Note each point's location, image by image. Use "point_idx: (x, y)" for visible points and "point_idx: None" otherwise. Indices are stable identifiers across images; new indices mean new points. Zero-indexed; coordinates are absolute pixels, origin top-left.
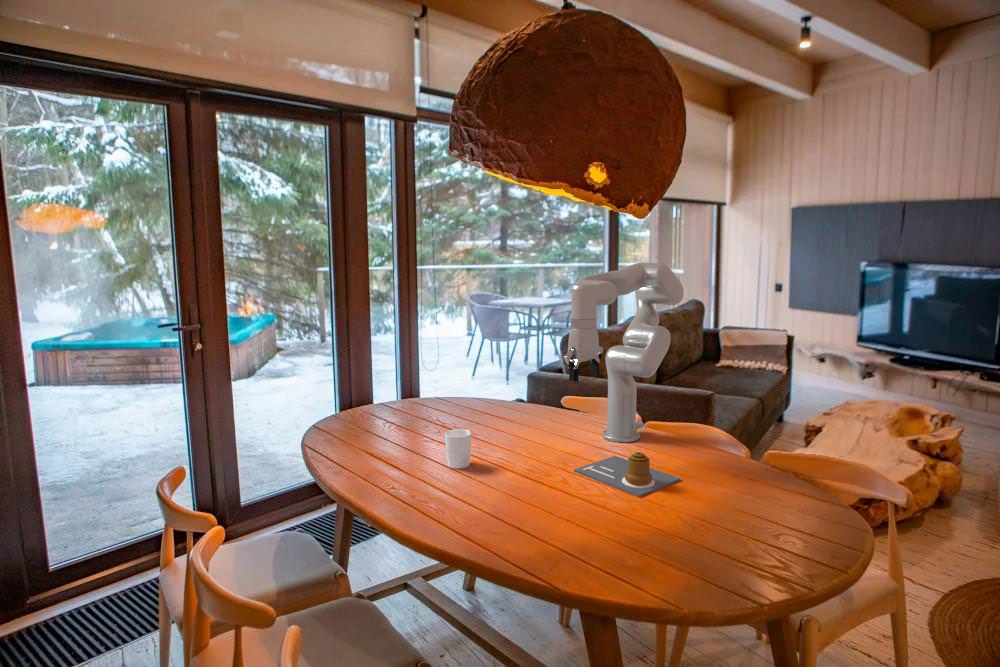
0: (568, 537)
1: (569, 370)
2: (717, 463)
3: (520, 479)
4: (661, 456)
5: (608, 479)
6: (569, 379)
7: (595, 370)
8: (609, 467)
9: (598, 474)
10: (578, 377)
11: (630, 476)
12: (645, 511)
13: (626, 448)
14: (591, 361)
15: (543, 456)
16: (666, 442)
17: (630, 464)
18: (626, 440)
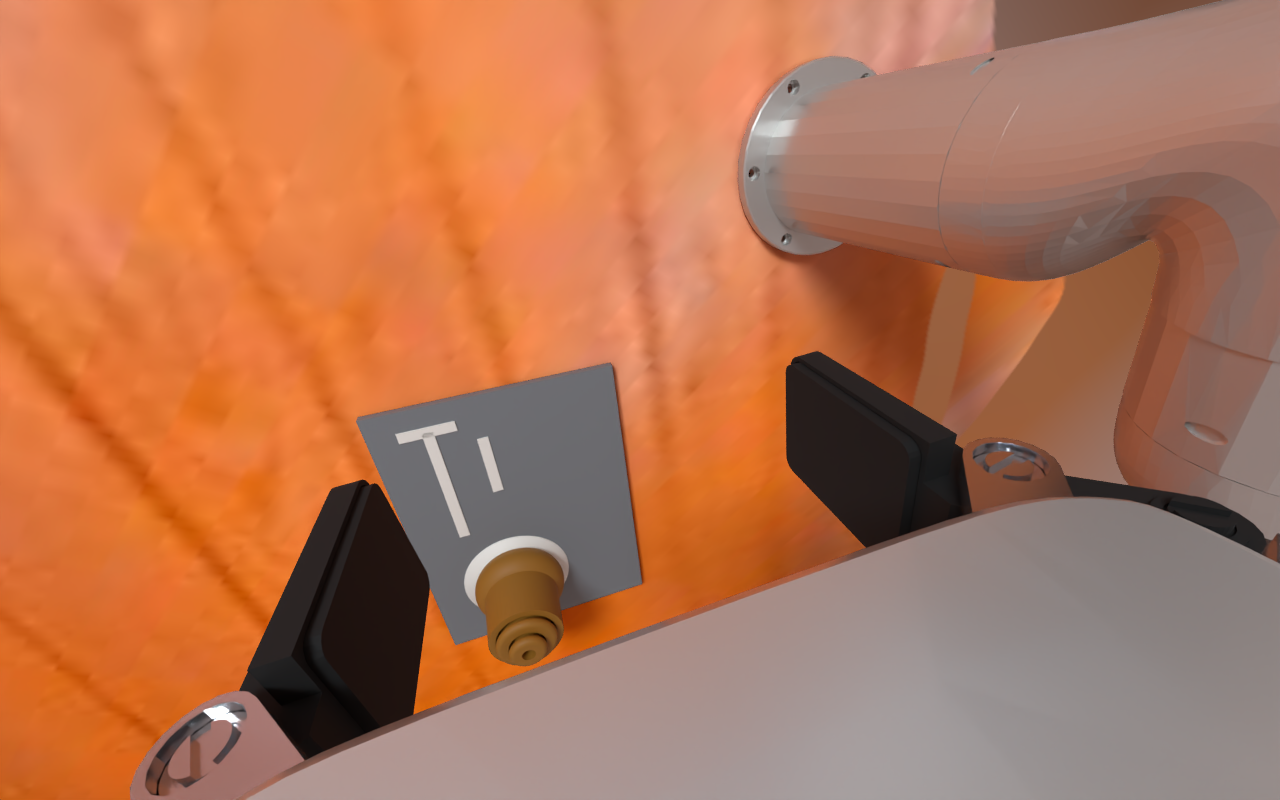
0: (93, 790)
1: (277, 615)
2: (812, 517)
3: (13, 401)
4: (747, 420)
5: (436, 539)
6: (332, 490)
7: (826, 483)
8: (510, 455)
9: (428, 494)
10: (422, 627)
11: (481, 607)
12: (415, 700)
13: (720, 299)
14: (962, 462)
15: (288, 174)
16: (871, 320)
17: (487, 632)
18: (775, 246)
